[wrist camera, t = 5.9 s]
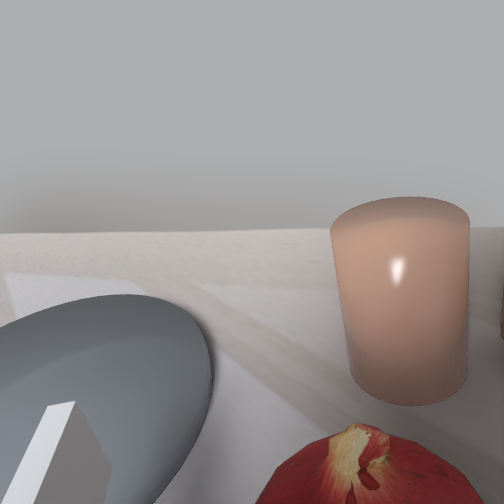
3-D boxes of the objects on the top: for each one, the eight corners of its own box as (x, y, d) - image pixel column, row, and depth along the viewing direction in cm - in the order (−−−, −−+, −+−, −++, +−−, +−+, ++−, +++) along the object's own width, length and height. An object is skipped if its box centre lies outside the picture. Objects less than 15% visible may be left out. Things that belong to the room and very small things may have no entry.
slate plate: (217, 284, 30) (214, 271, 29) (201, 595, 14) (192, 577, 13) (-38, 336, 31) (-45, 325, 30) (-331, 680, 15) (-356, 667, 14)
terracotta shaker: (438, 318, 22) (435, 187, 19) (490, 393, 18) (497, 238, 15) (339, 338, 23) (319, 212, 19) (365, 415, 18) (346, 269, 15)
